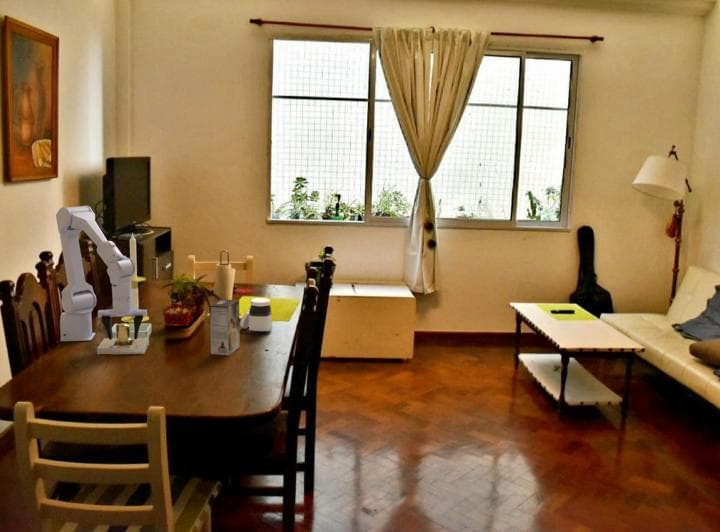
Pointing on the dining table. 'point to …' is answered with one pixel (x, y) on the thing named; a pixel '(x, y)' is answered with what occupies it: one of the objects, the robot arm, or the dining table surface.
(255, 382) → the dining table surface
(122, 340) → the pin
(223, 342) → the coffee box
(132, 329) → the tray
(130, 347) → the block
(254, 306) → the spread jar
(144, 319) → the candle
